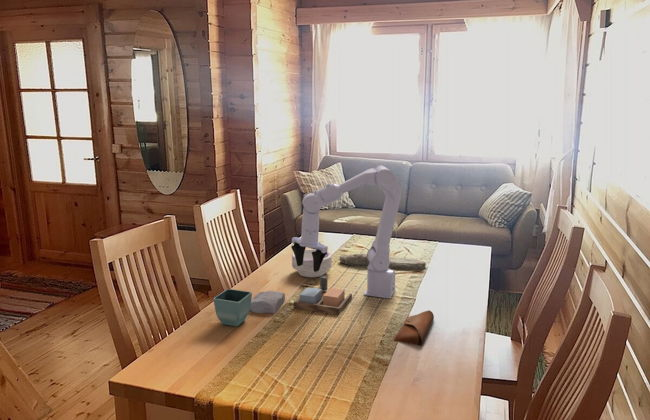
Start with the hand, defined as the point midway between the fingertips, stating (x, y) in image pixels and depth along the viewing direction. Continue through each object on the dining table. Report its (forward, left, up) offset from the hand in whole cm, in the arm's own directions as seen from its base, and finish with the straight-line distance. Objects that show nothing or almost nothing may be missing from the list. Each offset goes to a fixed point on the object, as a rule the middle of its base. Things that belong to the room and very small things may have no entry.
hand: (308, 268), depth 176 cm
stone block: (+10, +12, -11) cm, 19 cm away
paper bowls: (+7, -22, -10) cm, 25 cm away
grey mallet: (-4, +2, -10) cm, 11 cm away
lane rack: (-7, +4, -10) cm, 13 cm away
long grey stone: (-16, -41, -11) cm, 45 cm away
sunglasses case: (-39, +14, -11) cm, 43 cm away
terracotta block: (-11, +4, -10) cm, 16 cm away
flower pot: (+13, +27, -10) cm, 32 cm away
